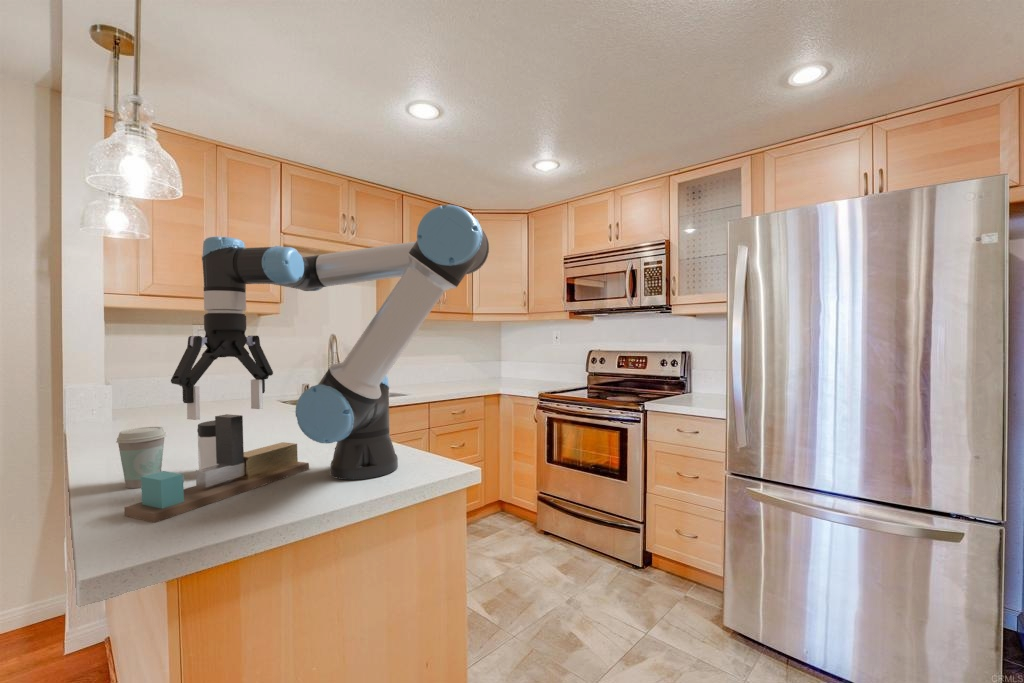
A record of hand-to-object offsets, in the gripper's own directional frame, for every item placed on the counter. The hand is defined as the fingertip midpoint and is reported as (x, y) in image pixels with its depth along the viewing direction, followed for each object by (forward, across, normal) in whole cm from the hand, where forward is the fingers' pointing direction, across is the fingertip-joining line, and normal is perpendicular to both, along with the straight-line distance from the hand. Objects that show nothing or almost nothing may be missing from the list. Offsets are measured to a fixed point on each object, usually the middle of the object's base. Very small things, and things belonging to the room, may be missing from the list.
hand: (227, 413), depth 95 cm
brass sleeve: (+14, -9, 0) cm, 17 cm away
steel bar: (+13, -4, 0) cm, 14 cm away
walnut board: (+16, 0, 0) cm, 16 cm away
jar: (+16, -7, -13) cm, 22 cm away
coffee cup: (+16, +5, -22) cm, 27 cm away
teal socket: (+14, +13, 0) cm, 19 cm away
